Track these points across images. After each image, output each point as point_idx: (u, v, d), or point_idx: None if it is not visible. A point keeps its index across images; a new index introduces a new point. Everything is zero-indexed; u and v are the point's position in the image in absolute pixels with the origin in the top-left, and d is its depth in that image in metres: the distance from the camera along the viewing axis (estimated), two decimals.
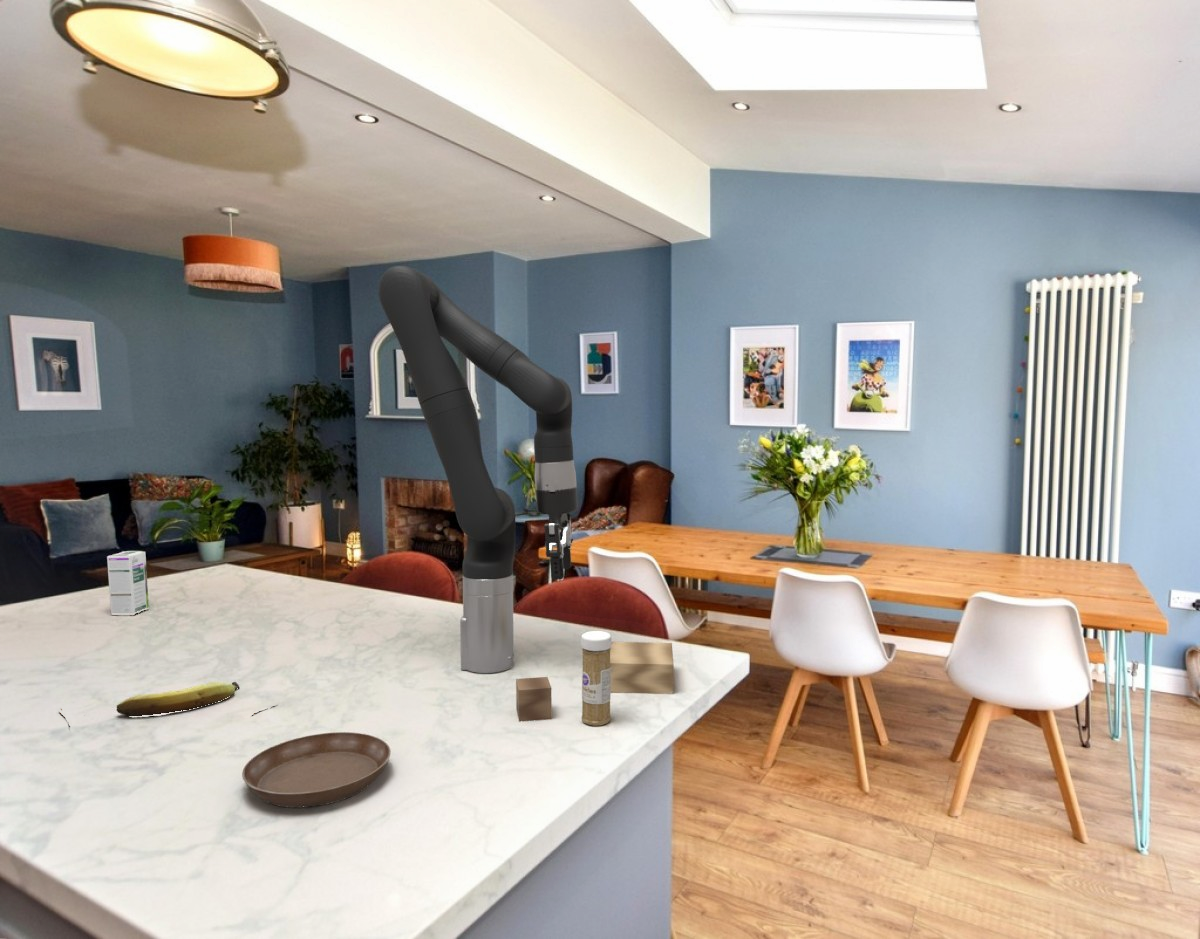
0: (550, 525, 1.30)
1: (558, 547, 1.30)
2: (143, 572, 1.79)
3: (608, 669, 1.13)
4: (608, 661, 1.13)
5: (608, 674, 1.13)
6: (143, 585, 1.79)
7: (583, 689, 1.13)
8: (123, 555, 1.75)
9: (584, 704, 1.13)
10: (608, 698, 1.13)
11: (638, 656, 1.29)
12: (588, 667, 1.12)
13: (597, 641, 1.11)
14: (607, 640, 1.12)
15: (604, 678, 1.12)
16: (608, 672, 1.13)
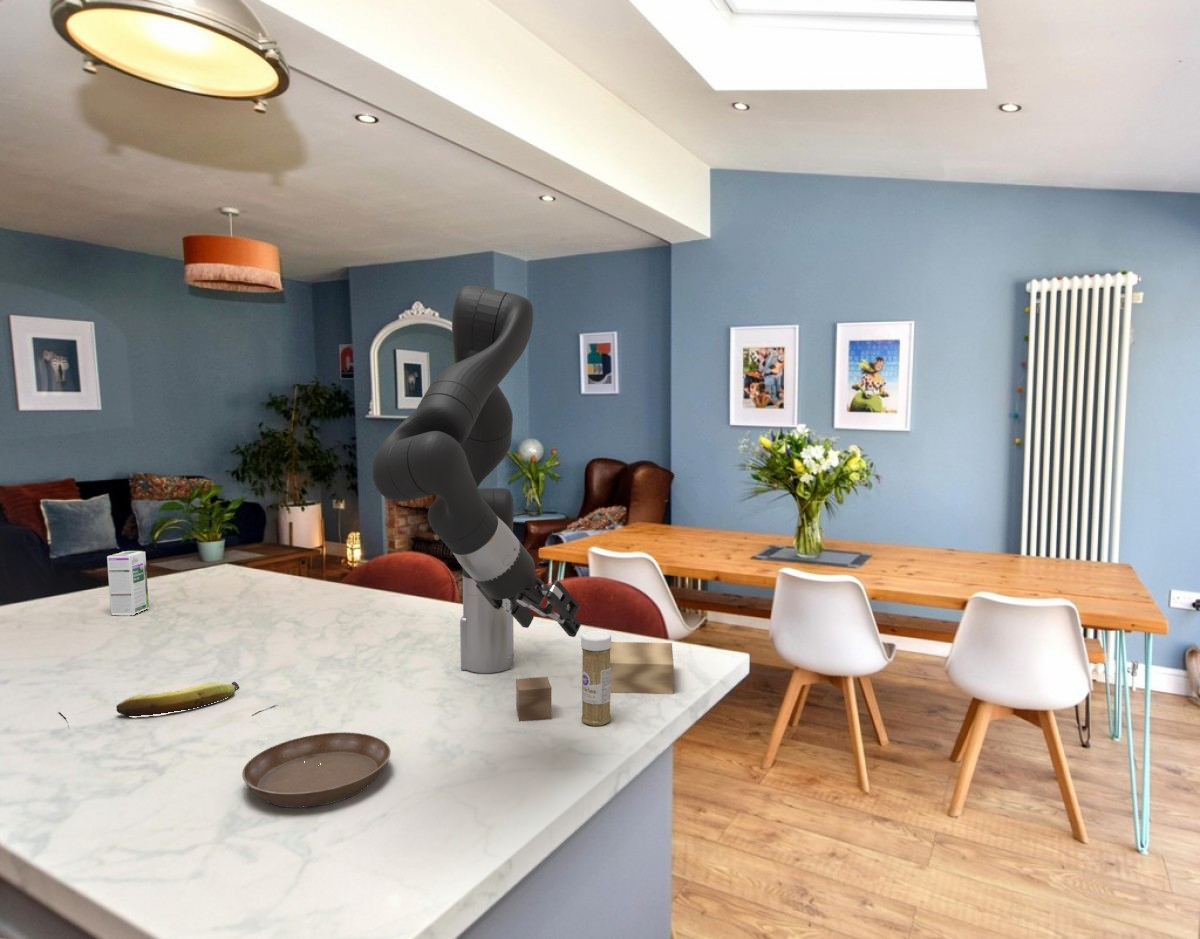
0: None
1: None
2: (143, 572, 1.79)
3: (608, 669, 1.13)
4: (608, 661, 1.13)
5: (608, 674, 1.13)
6: (143, 585, 1.79)
7: (583, 689, 1.13)
8: (123, 555, 1.75)
9: (584, 704, 1.13)
10: (608, 698, 1.13)
11: (638, 656, 1.29)
12: (588, 667, 1.12)
13: (597, 641, 1.11)
14: (607, 640, 1.12)
15: (604, 678, 1.12)
16: (608, 672, 1.13)
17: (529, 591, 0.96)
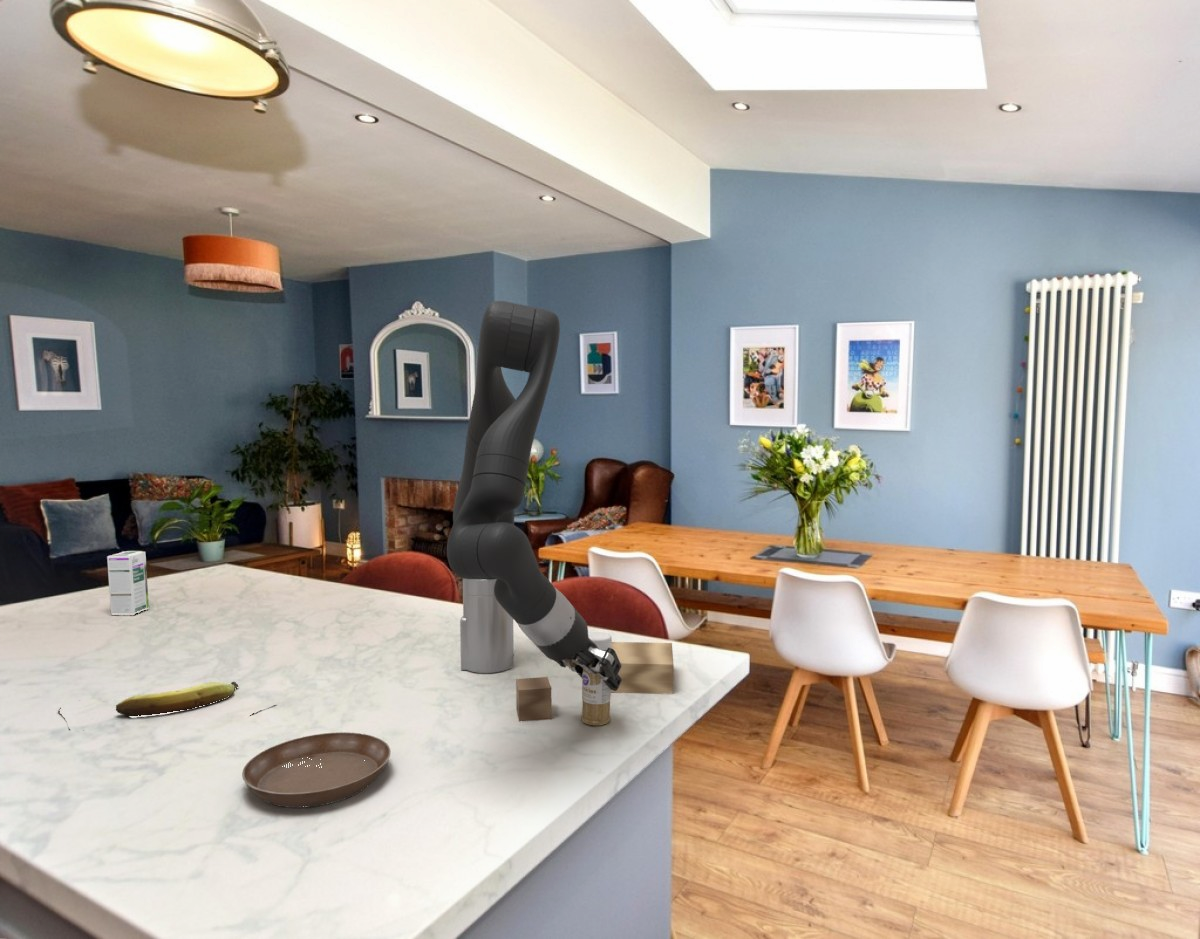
0: None
1: None
2: (143, 572, 1.79)
3: None
4: None
5: None
6: (143, 585, 1.79)
7: (583, 689, 1.13)
8: (123, 555, 1.75)
9: (584, 704, 1.13)
10: (608, 698, 1.13)
11: (638, 656, 1.29)
12: None
13: (598, 641, 1.11)
14: (608, 640, 1.12)
15: None
16: None
17: (585, 654, 1.06)
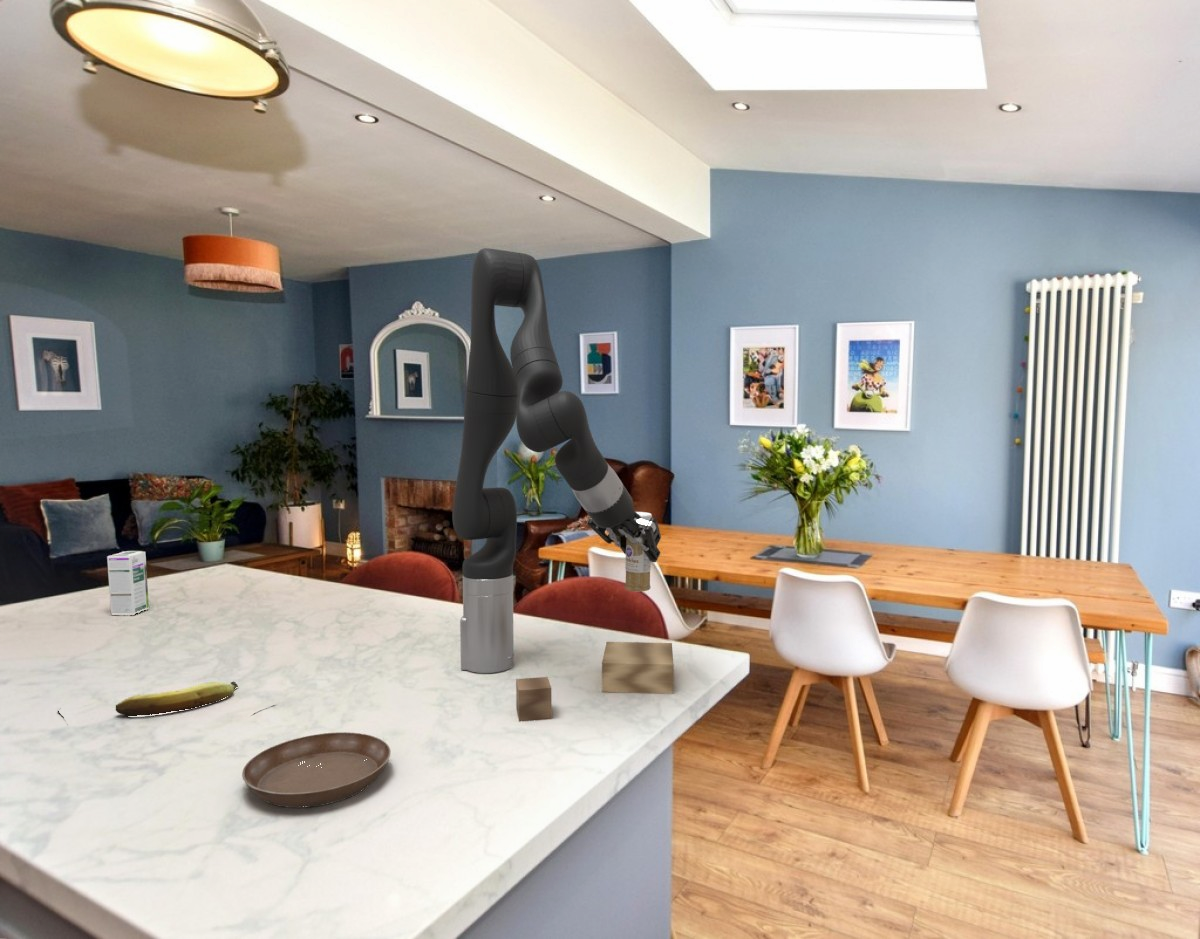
0: None
1: None
2: (143, 572, 1.79)
3: None
4: None
5: None
6: (143, 585, 1.79)
7: (627, 560, 1.29)
8: (123, 555, 1.75)
9: (628, 573, 1.29)
10: (649, 568, 1.29)
11: (638, 656, 1.29)
12: None
13: None
14: (649, 517, 1.28)
15: None
16: None
17: (631, 522, 1.22)
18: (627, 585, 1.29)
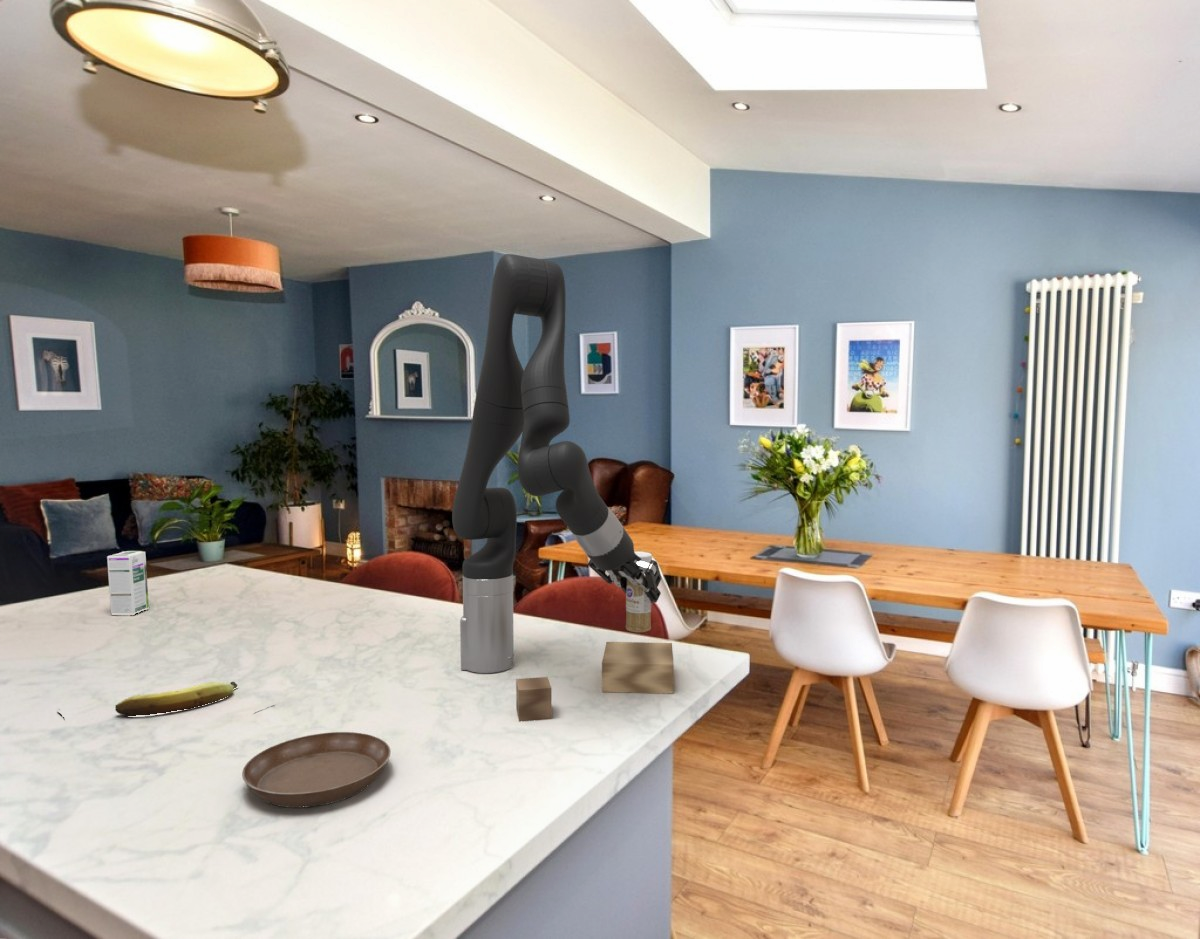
0: None
1: None
2: (143, 572, 1.79)
3: None
4: None
5: None
6: (143, 585, 1.79)
7: (627, 601, 1.30)
8: (123, 555, 1.75)
9: (628, 614, 1.30)
10: (649, 609, 1.30)
11: (638, 656, 1.29)
12: None
13: (641, 557, 1.28)
14: (649, 557, 1.29)
15: None
16: None
17: (631, 565, 1.23)
18: (628, 625, 1.30)
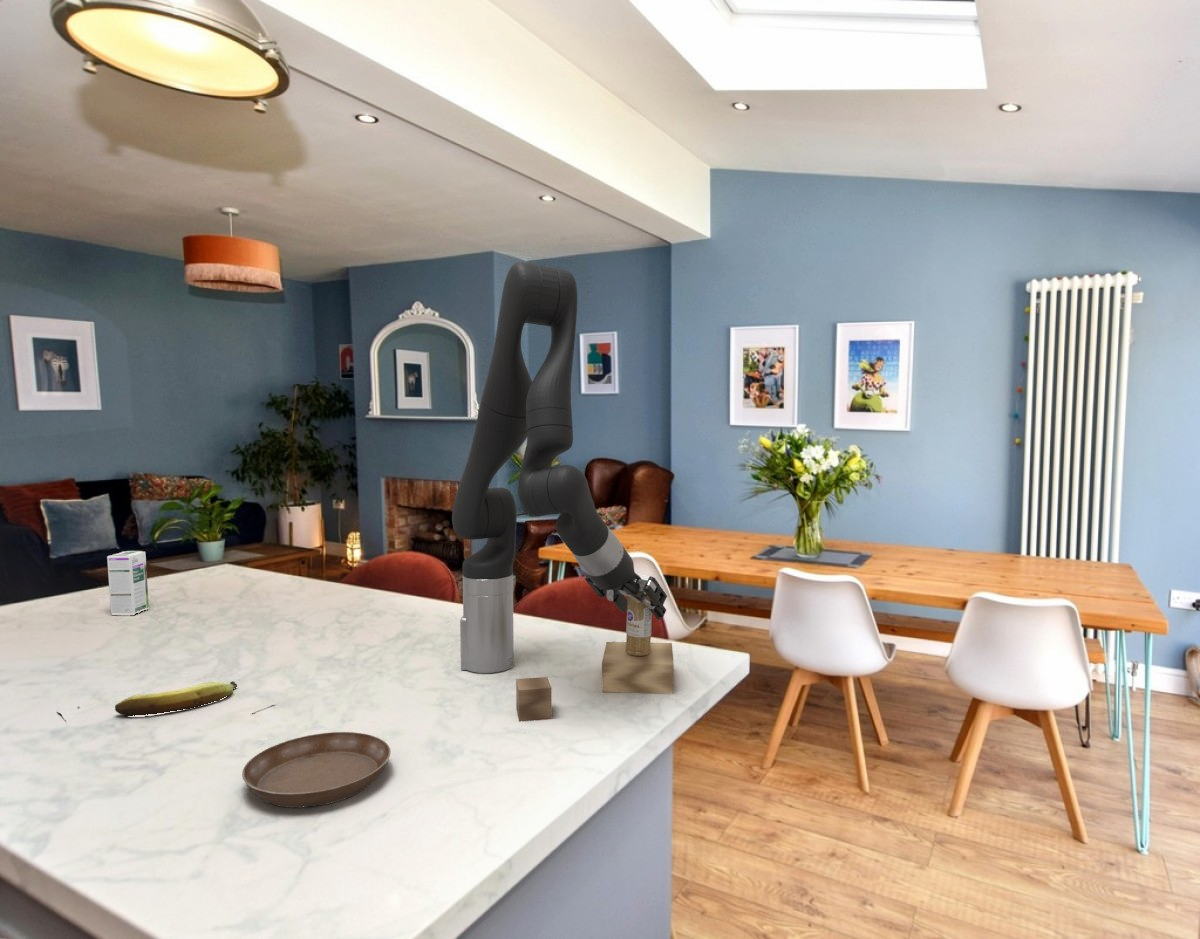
0: None
1: None
2: (143, 572, 1.79)
3: None
4: None
5: (650, 612, 1.29)
6: (143, 585, 1.79)
7: (628, 624, 1.30)
8: (123, 555, 1.75)
9: (628, 637, 1.30)
10: (649, 633, 1.30)
11: (638, 656, 1.29)
12: (633, 605, 1.29)
13: None
14: None
15: (646, 614, 1.29)
16: (650, 610, 1.29)
17: (630, 584, 1.23)
18: (628, 649, 1.30)
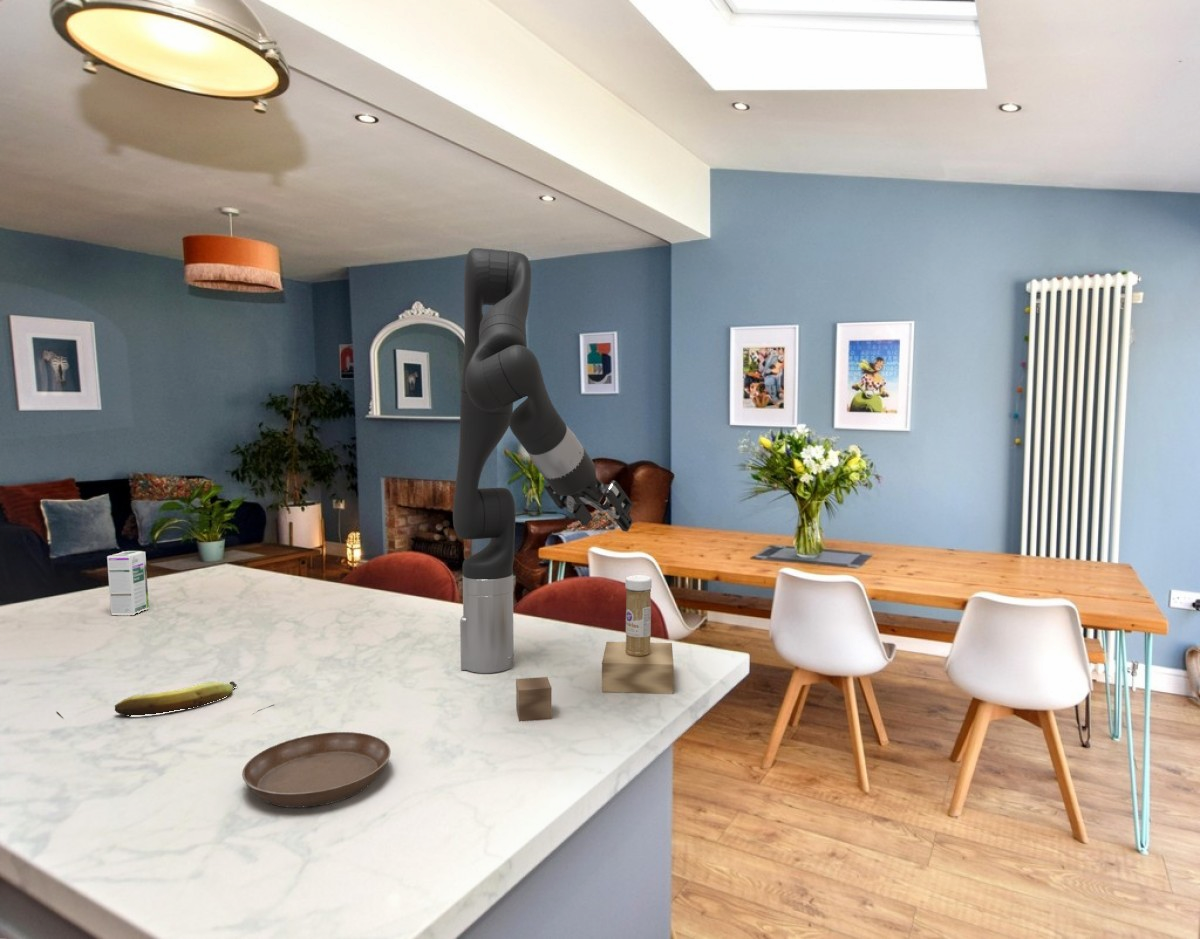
0: None
1: (555, 501, 1.23)
2: (143, 572, 1.79)
3: (649, 607, 1.30)
4: (649, 600, 1.30)
5: (649, 611, 1.30)
6: (143, 585, 1.79)
7: (627, 625, 1.30)
8: (123, 555, 1.75)
9: (628, 638, 1.30)
10: (649, 632, 1.30)
11: (638, 656, 1.29)
12: (632, 605, 1.29)
13: (640, 582, 1.28)
14: (648, 582, 1.29)
15: (645, 614, 1.29)
16: (649, 610, 1.30)
17: (591, 489, 1.14)
18: (627, 649, 1.30)
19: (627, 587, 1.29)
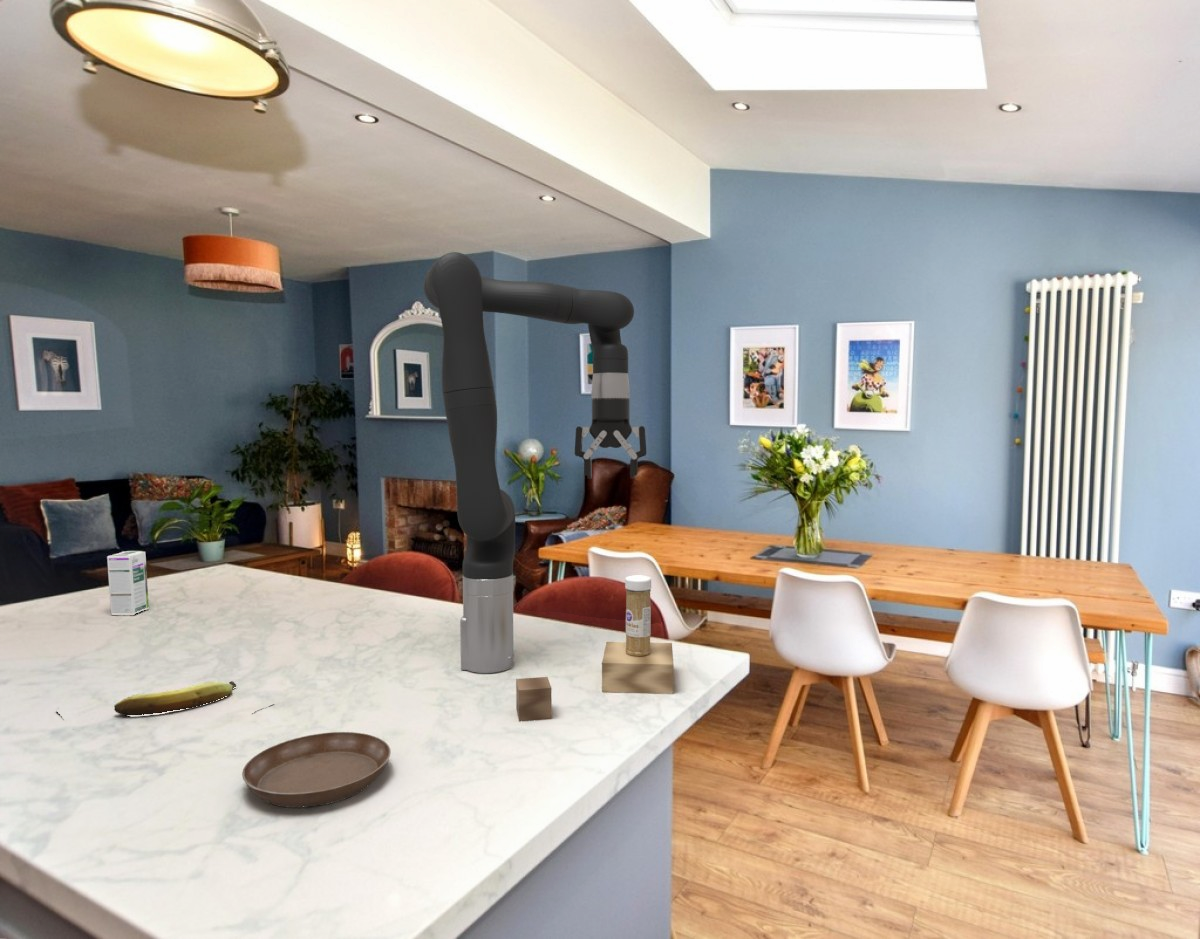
0: None
1: (575, 447, 1.49)
2: (143, 572, 1.79)
3: (649, 607, 1.29)
4: (649, 600, 1.30)
5: (649, 611, 1.30)
6: (143, 585, 1.79)
7: (627, 625, 1.30)
8: (123, 555, 1.75)
9: (628, 638, 1.30)
10: (649, 632, 1.30)
11: (638, 656, 1.29)
12: (632, 605, 1.29)
13: (640, 582, 1.28)
14: (648, 582, 1.29)
15: (645, 614, 1.29)
16: (649, 610, 1.29)
17: (627, 425, 1.48)
18: (627, 649, 1.30)
19: (627, 587, 1.29)
